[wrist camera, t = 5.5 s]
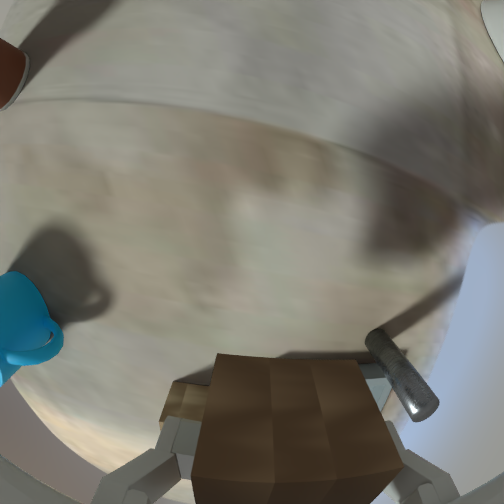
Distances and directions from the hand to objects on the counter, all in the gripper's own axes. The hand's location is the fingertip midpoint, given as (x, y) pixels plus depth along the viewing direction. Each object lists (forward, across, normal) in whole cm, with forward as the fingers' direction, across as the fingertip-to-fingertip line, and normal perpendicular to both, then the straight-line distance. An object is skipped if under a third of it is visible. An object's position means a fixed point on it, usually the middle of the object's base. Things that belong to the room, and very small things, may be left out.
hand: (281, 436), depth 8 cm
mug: (+12, +22, +4) cm, 25 cm away
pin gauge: (+12, -9, +3) cm, 15 cm away
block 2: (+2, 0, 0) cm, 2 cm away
